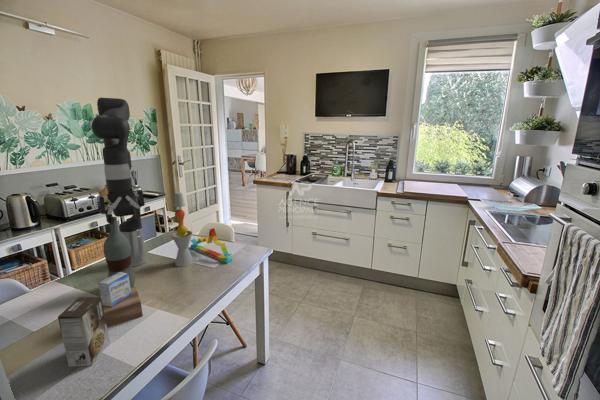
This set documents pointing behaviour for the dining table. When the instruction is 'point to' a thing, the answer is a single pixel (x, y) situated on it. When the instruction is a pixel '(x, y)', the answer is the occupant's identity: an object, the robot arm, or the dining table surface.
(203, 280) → the dining table surface
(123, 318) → the walnut block
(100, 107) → the robot arm
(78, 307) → the coffee box
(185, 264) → the lava lamp
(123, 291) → the medicine box
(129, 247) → the bottle
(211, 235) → the rainbow clothes hanger
